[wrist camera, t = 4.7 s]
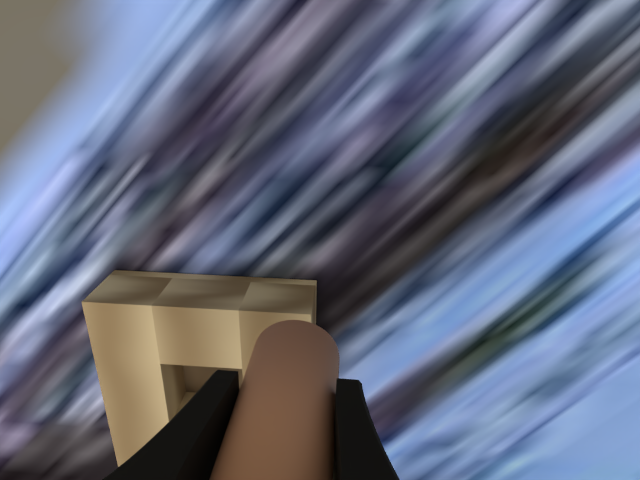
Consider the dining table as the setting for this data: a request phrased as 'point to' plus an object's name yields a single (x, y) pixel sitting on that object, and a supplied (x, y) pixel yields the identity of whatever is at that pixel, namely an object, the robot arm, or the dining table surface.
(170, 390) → the bore block
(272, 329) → the pin
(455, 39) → the dining table surface
